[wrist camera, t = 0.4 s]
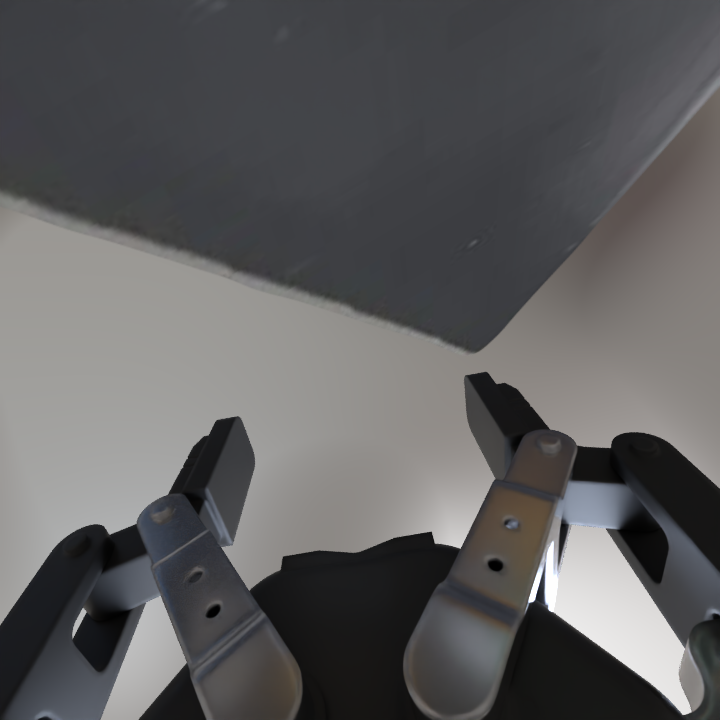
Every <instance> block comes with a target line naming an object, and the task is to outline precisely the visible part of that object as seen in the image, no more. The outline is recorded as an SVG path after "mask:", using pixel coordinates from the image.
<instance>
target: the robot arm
mask: <svg viewBox="0 0 720 720" xmlns="http://www.w3.org/2000/svg"><path fill="white" fill-rule="evenodd" d="M464 384H465V398H466V411H467V419H468V423H469V426H470V429H471V431H472V433H473V435H474V437H475V439H476V441H477V443H478V445H479V447H480V449H481V451H482V453H483V455H484V457H485V459H486V461H487V463H488V465H489V467H490V468H491V471H492V473H493V475H494V477H495V478H496V479H495V480H494V482H493V483H492V485H491V487H490V489H489V492H488V493H487V496H486V498H485V500H484V502H483V504H482V506H481V508H480V510H479V512H478V514H477V516H476V518H475V521H474V522H473V524H472V527H471V529H470V531H469V533H468V535H467V537H466V539H465V541H464V543H463V545H462V547H461V549H459V548H456V547H453V546H449V545H443V544H435V543H434V539H433V535H432V532H427V533H420V534H414V535H409V536H403V537H397V538H393V539H391V540H388V541H386V542H383V543H381V544H378V545H376V546H374V547H371V548H369V549H367V550H364V551H361V552H358V553H347V552H333V551H313V552H308V553H302V554H296V555H290V556H284V557H283V559H282V566H281V570H280V571H278V572H275V573H274V574H272V575H270V576H268V577H266V578H265V579H263V580H262V581H260V582H259V583H258V584H257V585H255V586H254V587H253V588H252V589H251V590H250V591H249V590H248V589H247V587H246V585H245V584H244V582H243V581H242V579H241V578H240V576H239V575H238V573H237V572H236V570H235V568H234V567H233V565H232V564H231V562H230V561H229V559H228V558H227V556H226V554H225V553H224V551H223V550H222V548H221V547H224V546H230V545H233V542H234V538H235V535H236V530H237V527H238V524H239V521H240V517H241V514H242V510H243V506H244V502H245V499H246V496H247V492H248V489H249V485H250V482H251V478H252V475H253V471H254V467H255V457H254V452H253V449H252V446H251V444H250V441H249V438H248V436H247V433H246V430H245V427H244V425H243V422H242V420H241V418H240V417H238V416H237V417H231V418H226V419H221V420H217V421H216V422H215V424H214V426H213V428H212V430H211V432H210V434H209V436H204V437H203V438H202V439H201V440H200V441H199V442H198V443H197V444H196V445H195V446H194V447H193V448H192V450H191V452H190V454H189V456H188V459H187V460H186V462H185V463H184V465H183V468H182V469H181V471H180V473H179V475H178V477H177V479H176V480H175V482H174V484H173V486H172V488H171V490H170V492H169V494H168V495H166V496H164V497H161V498H159V499H157V500H156V501H154V502H152V503H151V504H150V505H148V506H147V507H146V508H145V509H144V510H143V511H142V513H141V514H140V516H139V517H138V520H137V524H135V525H133V526H131V527H128V528H126V529H123V530H121V531H118V532H116V533H113V534H111V535H109V534H108V532H107V530H106V529H105V527H104V526H102V525H98V524H94V525H89V526H86V527H83V528H81V529H79V530H76V531H75V532H73V533H71V534H70V535H68V536H67V537H66V538H64V539H63V540H62V541H61V542H60V543H59V544H58V545H57V546H56V547H55V548H54V549H53V550H52V552H51V553H50V555H49V556H48V557H47V559H46V560H45V562H44V563H43V565H42V566H41V568H40V569H39V570H38V572H37V573H36V575H35V576H34V578H33V579H32V581H31V582H30V583H29V585H28V586H27V588H26V589H25V591H24V592H23V593H22V595H21V596H20V598H19V599H18V601H17V602H16V603H15V605H14V606H13V608H12V609H11V611H10V612H9V614H8V615H7V617H6V618H5V619H4V621H3V622H2V624H1V625H0V720H100V719H101V717H102V714H103V711H104V709H105V706H106V704H107V701H108V699H109V696H110V693H111V691H112V688H113V686H114V683H115V681H116V678H117V676H118V673H119V670H120V668H121V665H122V663H123V660H124V658H125V655H126V653H127V650H128V647H129V645H130V642H131V640H132V637H133V635H134V632H135V629H136V627H137V624H138V622H139V619H140V617H141V614H142V612H143V609H144V606H145V604H146V602H148V601H150V600H152V599H154V598H156V597H159V596H161V597H162V600H163V603H164V605H165V608H166V610H167V613H168V615H169V617H170V620H171V623H172V625H173V628H174V630H175V633H176V636H177V638H178V641H179V643H180V646H181V648H182V651H183V654H184V656H185V659H186V661H187V663H186V665H185V666H184V667H183V668H182V669H181V670H180V672H179V673H178V674H177V675H176V676H175V677H174V679H173V680H172V681H171V682H170V683H169V684H168V686H167V687H166V688H165V689H164V690H163V691H162V693H161V694H160V695H159V696H158V697H157V698H156V700H155V701H154V702H153V703H152V704H151V706H150V707H149V708H148V709H147V710H146V711H145V713H144V714H143V715H142V716H141V717H140V719H139V720H720V488H718V487H717V486H716V485H715V484H714V483H713V482H712V481H711V480H710V479H708V478H707V477H706V476H705V475H704V474H703V473H702V472H701V471H700V470H699V469H698V468H696V467H695V466H694V465H693V464H692V463H691V462H690V461H689V460H688V459H687V458H685V457H684V456H683V455H682V454H681V453H680V452H679V451H678V450H677V449H676V448H674V447H673V446H672V445H671V444H670V443H668V442H667V441H665V440H663V439H661V438H659V437H656V436H654V435H650V434H645V433H638V432H636V433H635V432H630V433H623V434H620V435H618V436H616V437H615V438H614V439H613V441H612V444H611V448H595V447H582V446H577V445H576V443H575V441H574V440H573V439H572V438H571V437H569V436H568V435H566V434H564V433H561V432H559V431H555V430H550V429H549V427H548V426H547V425H546V424H545V423H544V422H543V420H542V419H541V418H540V417H539V415H538V414H537V413H536V412H535V410H534V409H533V408H532V407H530V404H529V403H528V402H527V401H526V400H525V399H524V397H523V396H522V394H521V393H520V392H519V391H518V390H517V389H516V388H514V387H512V386H510V385H508V384H506V383H502V384H496V383H495V382H494V380H493V379H492V378H491V376H490V375H489V374H488V373H487V372H483V373H477V374H471V375H466V376H465V378H464ZM571 525H581V526H590V527H600V528H606V530H607V531H608V533H609V534H610V536H611V537H612V539H613V541H614V542H615V543H616V545H617V547H618V548H619V549H620V551H621V553H622V554H623V556H624V557H625V559H626V560H627V562H628V563H629V564H630V566H631V568H632V569H633V571H634V572H635V574H636V575H637V577H638V578H639V580H640V581H641V583H642V584H643V586H644V587H645V589H646V590H647V592H648V593H649V595H650V596H651V598H652V599H653V601H654V602H655V604H656V605H657V607H658V608H659V610H660V611H661V613H662V614H663V616H664V617H665V619H666V620H667V622H668V624H669V625H670V626H671V628H672V630H673V631H674V633H675V634H676V635H677V637H678V639H679V640H680V642H681V643H682V645H683V646H684V648H685V651H684V654H683V658H682V661H681V664H680V667H679V677H680V682H681V686H682V688H683V690H684V693H685V695H686V697H687V699H688V701H689V704H690V707H691V710H692V712H691V713H689V714H687V715H682V714H681V712H680V711H679V710H678V709H677V708H676V707H675V706H674V705H673V704H672V703H671V701H670V700H669V699H667V698H666V697H665V696H664V695H663V694H662V693H661V692H660V691H659V690H657V689H656V688H655V687H654V686H653V685H651V684H650V683H649V682H648V681H646V680H645V679H643V678H642V677H641V676H639V675H638V674H637V673H635V672H634V671H633V670H631V669H630V668H628V667H627V666H626V665H624V664H623V663H622V662H620V661H619V660H618V659H616V658H615V657H614V656H612V655H611V654H609V653H608V652H607V651H605V650H604V649H603V648H601V647H600V646H598V645H597V644H596V643H594V642H593V641H592V640H590V639H589V638H587V637H586V636H585V635H583V634H582V633H581V632H579V631H578V630H576V629H575V628H574V627H572V626H571V625H569V624H568V623H567V622H566V621H564V620H563V619H562V618H560V617H559V616H557V615H556V614H555V613H553V607H554V603H555V597H556V589H557V583H558V578H559V573H560V569H561V565H562V561H563V557H564V553H565V549H566V545H567V541H568V537H569V533H570V529H571ZM82 608H84V609H85V610H86V611H87V613H86V615H85V617H84V618H83V620H82V622H81V624H80V626H79V628H78V630H77V632H76V634H75V636H74V638H73V640H72V631H73V626H74V623H75V621H76V619H77V617H78V615H79V614H80V612H81V610H82Z"/></svg>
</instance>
